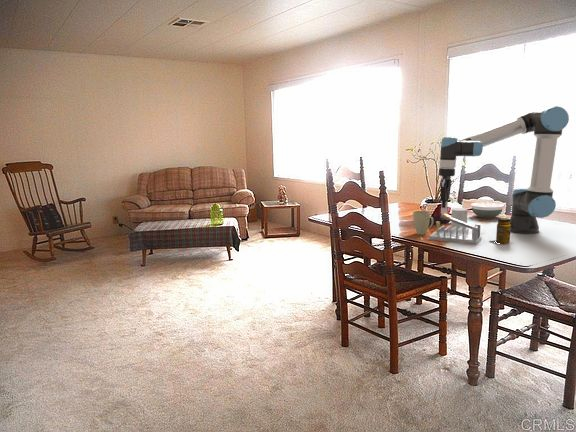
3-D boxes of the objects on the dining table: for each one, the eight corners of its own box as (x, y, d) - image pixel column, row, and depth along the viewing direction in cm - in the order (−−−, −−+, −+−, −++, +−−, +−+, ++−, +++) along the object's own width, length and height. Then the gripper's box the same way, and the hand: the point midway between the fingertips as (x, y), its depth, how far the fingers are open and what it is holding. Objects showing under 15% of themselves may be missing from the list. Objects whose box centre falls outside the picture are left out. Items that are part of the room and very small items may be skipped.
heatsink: (481, 239, 211) (482, 223, 210) (476, 244, 202) (477, 228, 200) (435, 234, 224) (436, 220, 223) (429, 239, 215) (429, 224, 213)
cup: (468, 231, 227) (468, 210, 224) (452, 231, 228) (453, 210, 226) (464, 228, 234) (465, 207, 232) (449, 228, 236) (450, 208, 234)
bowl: (474, 213, 274) (474, 201, 272) (505, 215, 263) (506, 203, 261) (467, 218, 259) (467, 206, 257) (500, 221, 248) (501, 207, 246)
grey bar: (478, 230, 207) (480, 226, 207) (477, 232, 204) (478, 228, 203) (441, 216, 217) (443, 212, 216) (439, 218, 214) (441, 214, 213)
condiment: (513, 243, 201) (515, 219, 198) (498, 245, 199) (500, 221, 197) (503, 240, 208) (504, 216, 205) (488, 241, 206) (489, 218, 204)
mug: (411, 235, 225) (412, 213, 222) (413, 231, 234) (413, 210, 231) (433, 236, 221) (433, 214, 218) (434, 232, 230) (434, 211, 227)
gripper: (443, 166, 216) (439, 210, 221) (435, 168, 206) (432, 214, 211) (458, 167, 212) (454, 212, 217) (451, 169, 201) (447, 216, 206)
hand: (443, 213), depth 214 cm, fingers closed
